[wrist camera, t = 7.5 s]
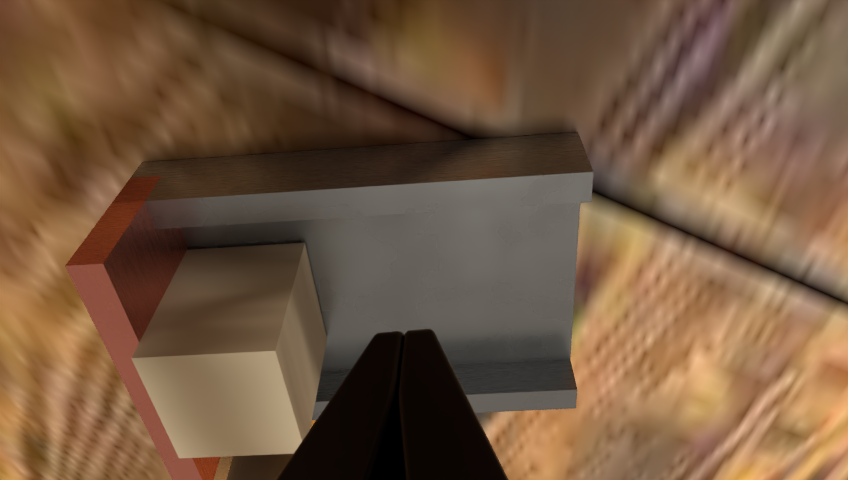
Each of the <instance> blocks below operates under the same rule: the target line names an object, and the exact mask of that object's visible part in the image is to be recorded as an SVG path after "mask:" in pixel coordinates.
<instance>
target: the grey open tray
mask: <svg viewBox="0 0 848 480" xmlns="http://www.w3.org/2000/svg"><path fill="white" fill-rule="evenodd" d="M592 185H593V169H592V167H591V164H590V162H589V159H588V157H587V154H586V152H585V149H584V147H583V144H582V142H581V139H580V137H579V134H578V132H573V133H558V134H544V135H530V136H515V137H501V138H486V139H472V140H457V141H443V142H429V143H414V144H400V145H385V146H371V147H356V148H342V149H327V150H313V151H299V152H284V153H270V154H255V155H241V156H226V157H212V158H197V159H183V160H169V161H154V162H142V163H141V165H140V166H139V167H138V169H137V170H136V171H135V173H134V174H133V175H132V177H131V178H130V180H129V181H128V182H127V184H126V185H125V186H124V188H123V189H122V190H121V192H120V193H119V194H118V196H117V197H116V198H115V200H114V201H113V202H112V204H111V205H110V206H109V208H108V209H107V210H106V212H105V213H104V214H103V216H102V217H101V219H100V220H99V221H98V223H97V224H96V225H95V227H94V228H93V229H92V231H91V232H90V233H89V235H88V236H87V237H86V239H85V240H84V241H83V243H82V244H81V245H80V247H79V248H78V249H77V251H76V252H75V253H74V255H73V256H72V257H71V259H70V260H69V262H68V263H67V264H66V266H65V267H66V269H67V271H68V273H69V275H70V277H71V278H72V280H73V282H74V284H75V286H76V288H77V290H78V292H79V294H80V296H81V298H82V300H83V302H84V304H85V306H86V308H87V310H88V312H89V314H90V316H91V318H92V320H93V322H94V324H95V326H96V328H97V330H98V332H99V334H100V336H101V338H102V340H103V342H104V344H105V346H106V348H107V350H108V352H109V354H110V356H111V358H112V360H113V362H114V364H115V366H116V368H117V370H118V372H119V374H120V376H121V378H122V380H123V382H124V384H125V386H126V388H127V390H128V392H129V394H130V396H131V398H132V400H133V402H134V404H135V406H136V408H137V410H138V412H139V414H140V416H141V418H142V420H143V422H144V424H145V426H146V428H147V430H148V432H149V434H150V436H151V438H152V440H153V442H154V444H155V446H156V448H157V450H158V452H159V454H160V456H161V458H162V460H163V462H164V464H165V466H166V468H167V470H168V472H169V474H170V476H171V478H172V480H213V479H214V476H215V473H216V470H217V466H218V463H219V460H220V457H200V458H179V457H178V455H177V453H176V451H175V449H174V447H173V445H172V443H171V440H170V438H169V436H168V434H167V432H166V430H165V428H164V426H163V424H162V422H161V420H160V417H159V415H158V413H157V411H156V409H155V407H154V405H153V403H152V401H151V399H150V397H149V394H148V392H147V390H146V388H145V386H144V384H143V382H142V380H141V378H140V376H139V374H138V371H137V369H136V367H135V365H134V363H133V361H132V359H131V358H132V356H133V354H134V352H135V350H136V348H137V346H138V344H139V342H140V340H141V338H142V336H143V334H144V332H145V331H146V329H147V327H148V325H149V323H150V321H151V319H152V317H153V315H154V313H155V311H156V309H157V307H158V305H159V303H160V301H161V299H162V297H163V296H164V294H165V292H166V290H167V288H168V286H169V284H170V282H171V280H172V278H173V276H174V274H175V272H176V270H177V268H178V266H179V264H180V263H181V261H182V259H183V257H184V255H185V253H186V251H187V250H193V249H209V248H225V247H242V246H258V245H275V244H291V243H305V246H306V250H307V254H308V259H309V263H310V267H311V272H312V276H313V280H314V284H315V289H316V293H317V297H318V302H319V306H320V310H321V315H322V319H323V323H324V328H325V332H326V336H327V342H326V348H325V353H324V358H323V364H322V369H321V374H320V380H319V385H318V390H317V396H316V401H315V406H314V411H313V417H312V420H317V419H318V417H319V416H320V414H321V413H322V411H323V410H324V408H325V407H326V405H327V404H328V403H329V401H330V400H331V398H332V397H333V395H334V394H335V392H336V391H337V389H338V388H339V386H340V385H341V383H342V382H343V381H344V379H345V378H346V376H347V375H348V373H349V372H350V370H351V369H352V367H353V366H354V364H355V363H356V361H357V360H358V358H359V357H360V356H361V354H362V353H363V351H364V350H365V348H366V347H367V345H368V344H369V342H370V341H371V339H372V338H373V336H374V335H375V334H377V333H379V332H391V331H401V332H403V333H404V334H405V333H406V332H407V331H408V330H417V329H432V330H433V331H434V332H435V334H436V336H437V338H438V340H439V342H440V344H441V346H442V348H443V350H444V352H445V354H446V356H447V358H448V360H449V362H450V364H451V366H452V368H453V370H454V372H455V374H456V376H457V378H458V380H459V382H460V384H461V386H462V388H463V390H464V392H465V394H466V396H467V398H468V400H469V402H470V404H471V406H472V408H473V410H474V412H475V413H480V412H502V411H524V410H546V409H568V408H576V399H577V387H576V382H575V378H574V374H573V370H572V365H571V361H570V354H571V338H572V323H573V307H574V291H575V275H576V259H577V244H578V228H579V212H580V203H581V202H591V198H592Z"/></svg>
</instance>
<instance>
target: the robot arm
mask: <svg viewBox="0 0 848 480" xmlns="http://www.w3.org/2000/svg"><path fill="white" fill-rule="evenodd" d="M276 480H508V478H507V476H506V474H505V472H504V470H503V468H502V466H501V464H500V462H499V460H498V458H497V456H496V454H495V452H494V450H493V448H492V446H491V444H490V442H489V440H488V438H487V436H486V434H485V432H484V430H483V428H482V426H481V424H480V422H479V420H478V418H477V416H476V414H475V412H474V410H473V408H472V406H471V404H470V402H469V400H468V398H467V396H466V394H465V392H464V390H463V388H462V386H461V384H460V382H459V380H458V378H457V376H456V374H455V372H454V370H453V368H452V366H451V364H450V362H449V360H448V358H447V356H446V354H445V352H444V350H443V348H442V346H441V344H440V342H439V340H438V338H437V336H436V334H435V332H434V331H433V330H432V329H417V330H408V331H407V332H406V333H405V334H404V333H403V332H401V331H391V332H379V333H377V334H375V335H374V336H373V338H372V339H371V341H370V342H369V344H368V345H367V347H366V348H365V350H364V351H363V353H362V354H361V356H360V357H359V358H358V360H357V361H356V363H355V364H354V366H353V367H352V369H351V370H350V372H349V373H348V375H347V376H346V378H345V379H344V381H343V382H342V383H341V385H340V386H339V388H338V389H337V391H336V392H335V394H334V395H333V397H332V398H331V400H330V401H329V403H328V404H327V405H326V407H325V408H324V410H323V411H322V413H321V414H320V416H319V417H318V419H317V420H316V422H315V423H314V425H313V426H312V428H311V429H310V430H309V432H308V433H307V435H306V436H305V438H304V439H303V441H302V442H301V444H300V445H299V447H298V448H297V450H296V451H295V453H294V454H293V455H292V457H291V458H290V460H289V461H288V463H287V464H286V466H285V467H284V469H283V470H282V472H281V473H280V475H279V476H278V477H277V479H276Z"/></svg>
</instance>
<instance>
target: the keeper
mask: <svg viewBox="0 0 848 480" xmlns="http://www.w3.org/2000/svg"><path fill="white" fill-rule="evenodd" d="M326 342H327V336H326V332H325V328H324V323H323V319H322V315H321V310H320V306H319V302H318V297H317V293H316V289H315V284H314V280H313V276H312V272H311V267H310V263H309V259H308V254H307V250H306V246H305V243H291V244H275V245H258V246H242V247H225V248H209V249H193V250H187V251H186V253H185V255H184V257H183V259H182V261H181V263H180V264H179V266H178V268H177V270H176V272H175V274H174V276H173V278H172V280H171V282H170V284H169V286H168V288H167V290H166V292H165V294H164V296H163V297H162V299H161V301H160V303H159V305H158V307H157V309H156V311H155V313H154V315H153V317H152V319H151V321H150V323H149V325H148V327H147V329H146V331H145V332H144V334H143V336H142V338H141V340H140V342H139V344H138V346H137V348H136V350H135V352H134V354H133V356H132V358H131V359H132V361H133V363H134V365H135V367H136V369H137V371H138V374H139V376H140V378H141V380H142V382H143V384H144V386H145V388H146V390H147V392H148V394H149V397H150V399H151V401H152V403H153V405H154V407H155V409H156V411H157V413H158V415H159V417H160V420H161V422H162V424H163V426H164V428H165V430H166V432H167V434H168V436H169V438H170V440H171V443H172V445H173V447H174V449H175V451H176V453H177V455H178V457H179V458H200V457H224V456H248V455H271V454H294V453H295V451H296V450H297V448H298V447H299V445H300V444H301V442H302V441H303V439H304V438H305V436H306V435H307V433H308V432H309V430H310V427H311V422H312V417H313V411H314V406H315V401H316V396H317V390H318V385H319V380H320V374H321V369H322V364H323V358H324V353H325V348H326Z"/></svg>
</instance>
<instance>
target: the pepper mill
mask: <svg viewBox="0 0 848 480" xmlns="http://www.w3.org/2000/svg"><path fill="white" fill-rule="evenodd" d="M292 455H293V454H271V455H248V456H233V460H232V463H231V466H230V470H229V473H228V477H227V480H276V479H277V477H278V476H279V475H280V473H281V472H282V470H283V469H284V467H285V466H286V464H287V463H288V461H289V460H290V458H291V457H292Z"/></svg>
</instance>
